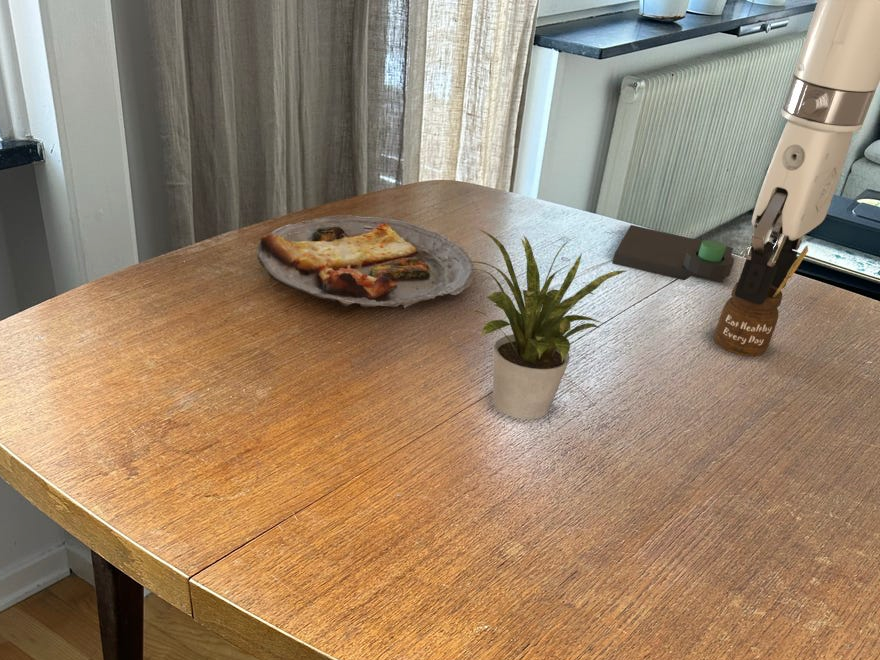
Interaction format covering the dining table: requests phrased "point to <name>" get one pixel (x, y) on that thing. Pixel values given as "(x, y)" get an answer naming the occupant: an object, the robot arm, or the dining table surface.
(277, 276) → the food plate
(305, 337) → the dining table surface
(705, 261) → the green push button base
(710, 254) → the button
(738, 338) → the utensil holder
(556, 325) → the house plant
